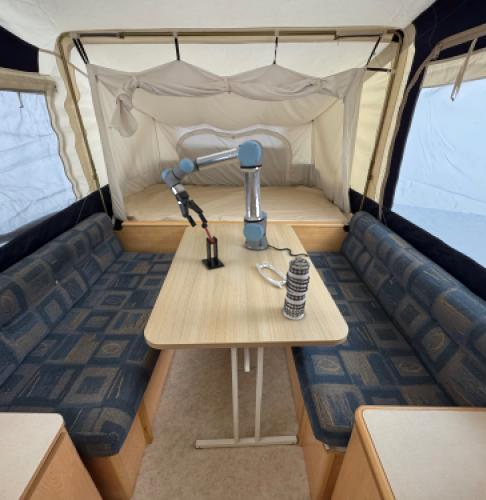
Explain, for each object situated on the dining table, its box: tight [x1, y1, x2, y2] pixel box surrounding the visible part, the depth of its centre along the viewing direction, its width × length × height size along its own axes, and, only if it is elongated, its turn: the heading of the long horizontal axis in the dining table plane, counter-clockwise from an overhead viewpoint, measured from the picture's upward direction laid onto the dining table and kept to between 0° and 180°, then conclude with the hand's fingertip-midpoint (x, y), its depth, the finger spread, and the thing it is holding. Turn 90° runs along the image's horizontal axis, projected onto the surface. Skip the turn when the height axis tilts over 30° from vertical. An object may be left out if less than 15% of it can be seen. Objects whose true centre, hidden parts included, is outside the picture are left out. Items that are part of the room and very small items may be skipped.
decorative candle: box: [283, 256, 311, 321], centre depth 106 cm, size 9×9×25 cm
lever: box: [200, 222, 215, 246], centre depth 148 cm, size 15×4×4 cm, turn 27°
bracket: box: [201, 235, 225, 271], centre depth 148 cm, size 11×9×16 cm
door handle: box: [255, 261, 287, 289], centre depth 139 cm, size 3×10×25 cm
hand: (200, 224), depth 153 cm, fingers open, 13 cm apart
